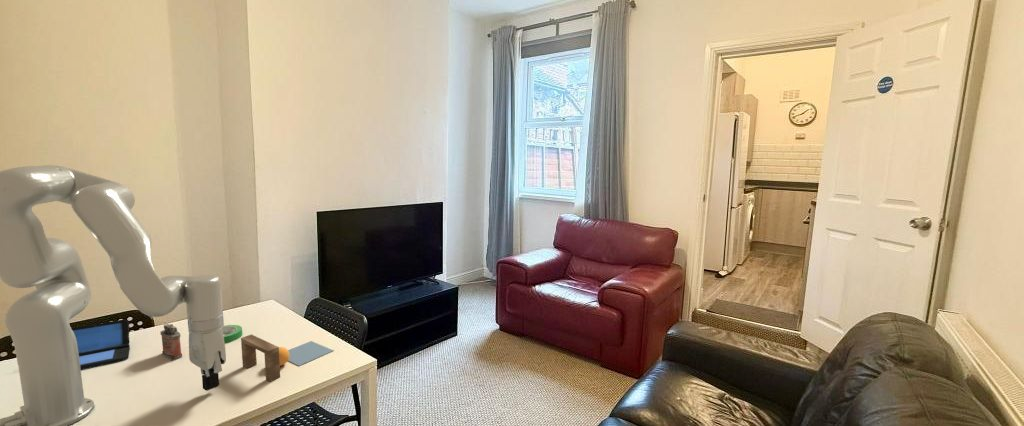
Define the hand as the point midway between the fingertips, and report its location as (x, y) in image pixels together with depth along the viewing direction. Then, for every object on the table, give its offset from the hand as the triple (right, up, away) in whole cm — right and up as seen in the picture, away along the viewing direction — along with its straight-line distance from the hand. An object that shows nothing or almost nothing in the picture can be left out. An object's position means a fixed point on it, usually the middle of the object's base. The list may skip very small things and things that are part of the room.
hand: (211, 387), depth 112 cm
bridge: (+7, 0, +11) cm, 13 cm away
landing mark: (+14, +1, +23) cm, 27 cm away
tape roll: (-19, +3, +32) cm, 38 cm away
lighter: (-26, +2, +19) cm, 32 cm away
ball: (+10, +3, +15) cm, 18 cm away
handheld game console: (-47, +2, +16) cm, 49 cm away
